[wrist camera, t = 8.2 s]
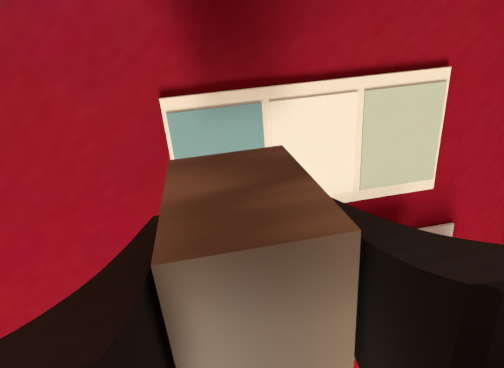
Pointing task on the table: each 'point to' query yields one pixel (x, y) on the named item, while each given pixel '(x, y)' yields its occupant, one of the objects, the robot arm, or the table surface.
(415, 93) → the game board
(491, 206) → the table surface
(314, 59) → the table surface
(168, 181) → the brown wooden block
